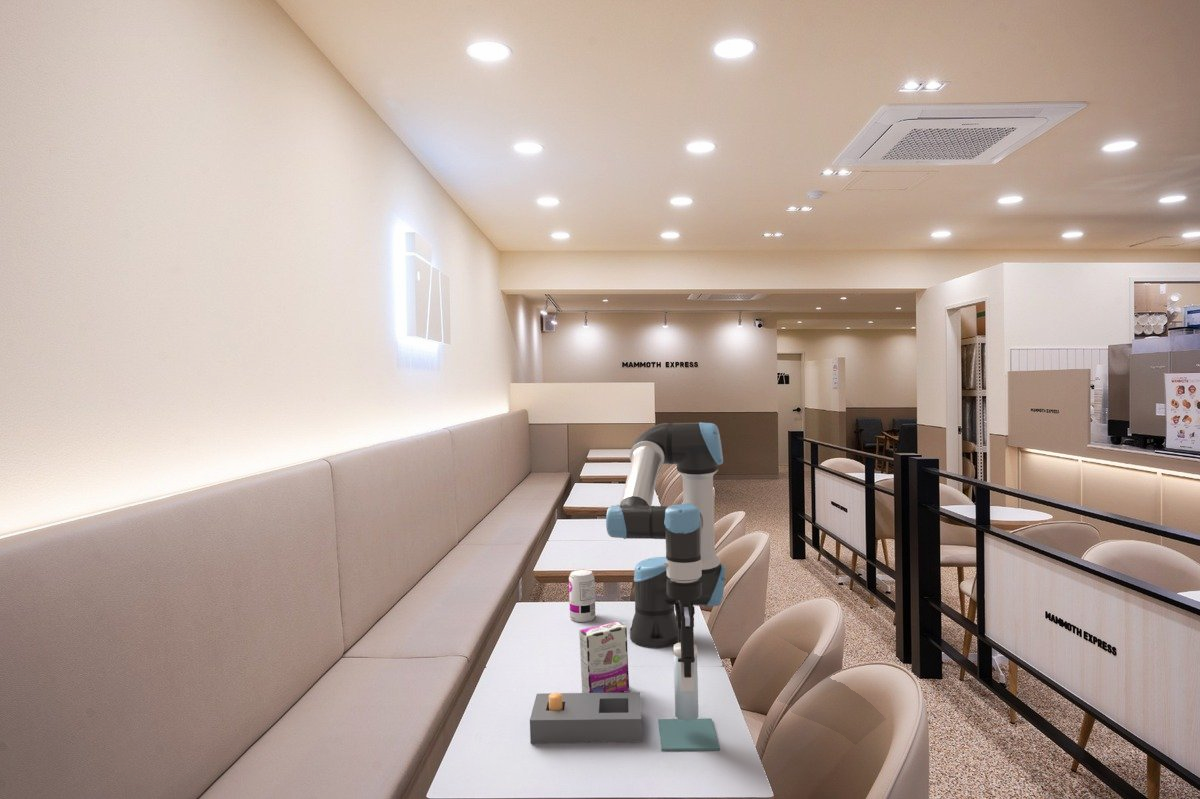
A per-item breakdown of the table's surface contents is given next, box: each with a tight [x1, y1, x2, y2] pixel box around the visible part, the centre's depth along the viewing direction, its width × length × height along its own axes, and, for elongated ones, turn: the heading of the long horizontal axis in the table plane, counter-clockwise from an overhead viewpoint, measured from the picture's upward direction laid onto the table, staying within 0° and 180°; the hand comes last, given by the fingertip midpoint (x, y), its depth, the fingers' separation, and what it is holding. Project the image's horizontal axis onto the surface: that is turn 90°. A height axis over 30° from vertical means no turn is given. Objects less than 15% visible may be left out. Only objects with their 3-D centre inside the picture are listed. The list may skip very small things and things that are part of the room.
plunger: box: [549, 692, 563, 711], centre depth 150 cm, size 3×3×6 cm
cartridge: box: [673, 642, 700, 721], centre depth 145 cm, size 5×5×15 cm
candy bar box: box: [578, 620, 630, 693], centre depth 166 cm, size 11×5×16 cm, turn 117°
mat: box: [657, 717, 720, 752], centre depth 146 cm, size 12×12×1 cm
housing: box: [529, 691, 643, 744], centre depth 150 cm, size 24×12×5 cm, turn 88°
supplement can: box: [568, 568, 596, 623], centre depth 217 cm, size 8×8×15 cm
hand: (686, 684), depth 146 cm, fingers closed on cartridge, 5 cm apart
